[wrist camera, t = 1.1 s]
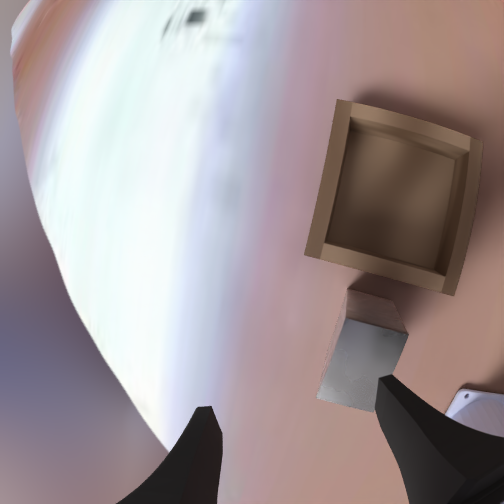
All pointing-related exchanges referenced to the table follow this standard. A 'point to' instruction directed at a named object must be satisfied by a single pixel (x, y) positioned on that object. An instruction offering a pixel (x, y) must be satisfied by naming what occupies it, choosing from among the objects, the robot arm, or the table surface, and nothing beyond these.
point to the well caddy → (396, 197)
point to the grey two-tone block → (361, 350)
